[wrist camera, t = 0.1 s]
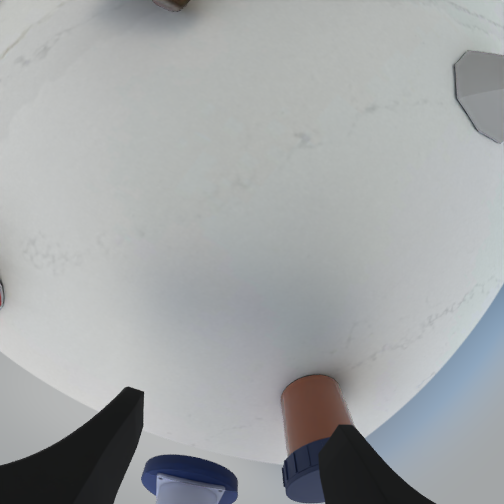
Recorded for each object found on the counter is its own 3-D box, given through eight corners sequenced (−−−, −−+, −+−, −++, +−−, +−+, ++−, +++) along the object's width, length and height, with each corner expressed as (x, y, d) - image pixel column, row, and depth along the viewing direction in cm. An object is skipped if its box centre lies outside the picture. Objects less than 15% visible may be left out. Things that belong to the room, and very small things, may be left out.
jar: (326, 418, 20) (347, 493, 12) (272, 413, 20) (280, 496, 12) (349, 377, 19) (384, 456, 11) (292, 370, 19) (309, 459, 11)
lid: (345, 478, 14) (351, 500, 12) (270, 478, 14) (272, 503, 12) (385, 433, 13) (395, 457, 11) (300, 432, 12) (305, 462, 10)
